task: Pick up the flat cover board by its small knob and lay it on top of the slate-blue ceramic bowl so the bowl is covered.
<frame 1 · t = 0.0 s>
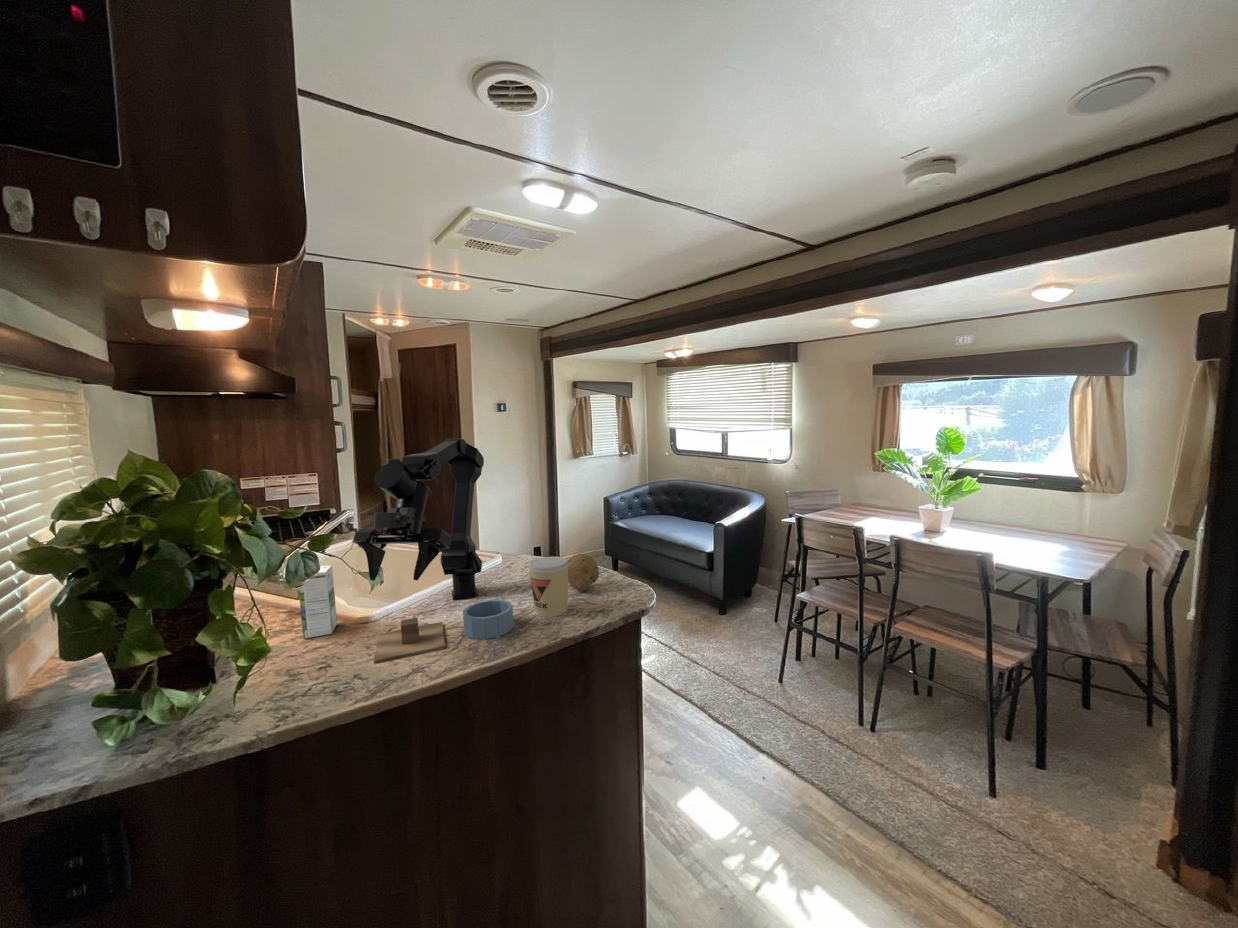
hand: (393, 580, 96), 15 cm above the counter, tool tilted 35°, fingers open, 9 cm apart
cover board: (411, 645, 101), on the counter
bowl: (489, 628, 106), on the counter
coffee cup: (551, 611, 115), on the counter
syrup box: (321, 632, 109), on the counter
natural sponge: (583, 591, 127), on the counter
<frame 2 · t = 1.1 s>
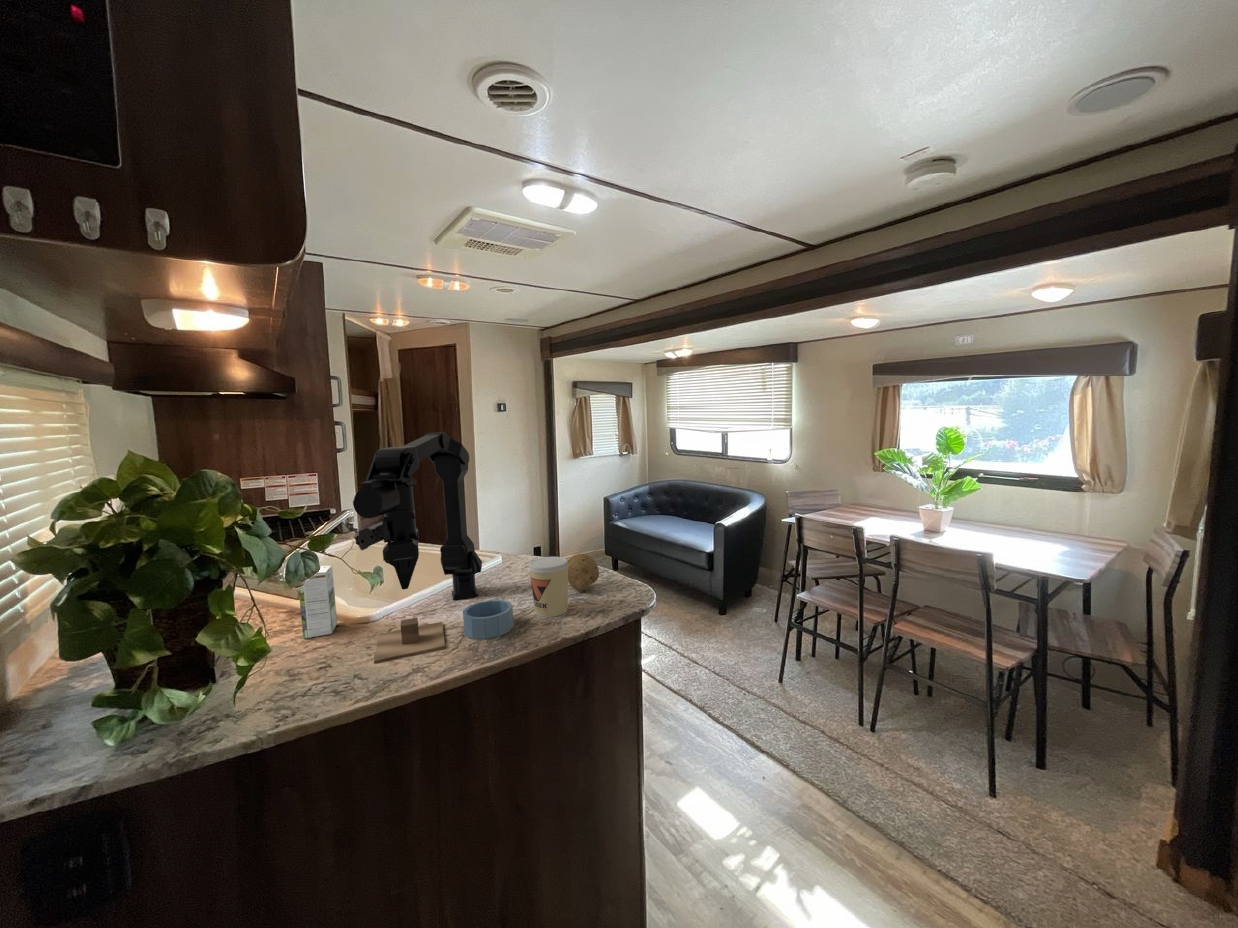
hand: (405, 582, 100), 13 cm above the counter, tool pointing down, fingers open, 9 cm apart
nothing on the counter moved.
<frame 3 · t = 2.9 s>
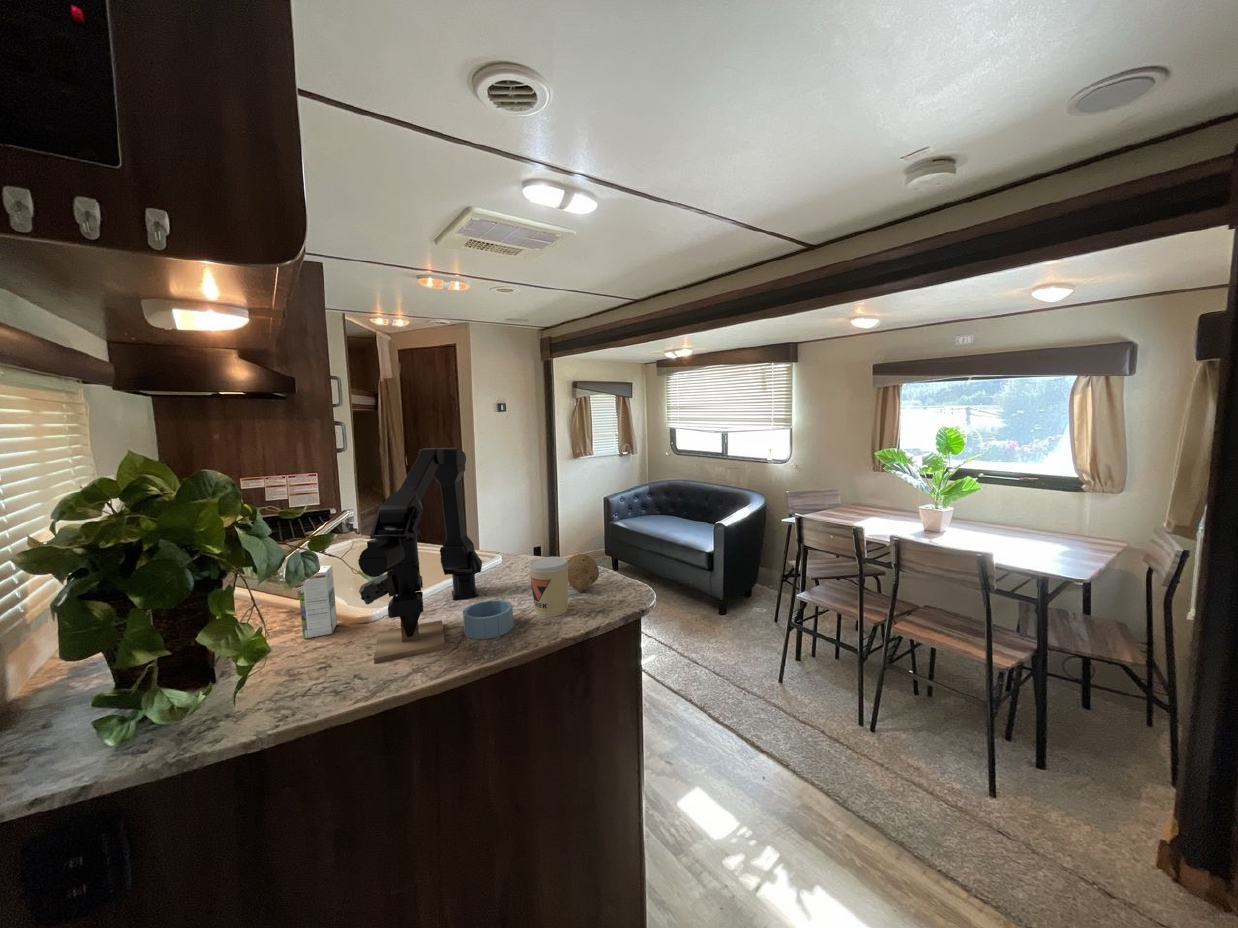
hand: (410, 633, 101), 2 cm above the counter, tool pointing down, fingers closed on cover board, 3 cm apart
cover board: (411, 642, 101), on the counter, touching gripper
everything else where it was.
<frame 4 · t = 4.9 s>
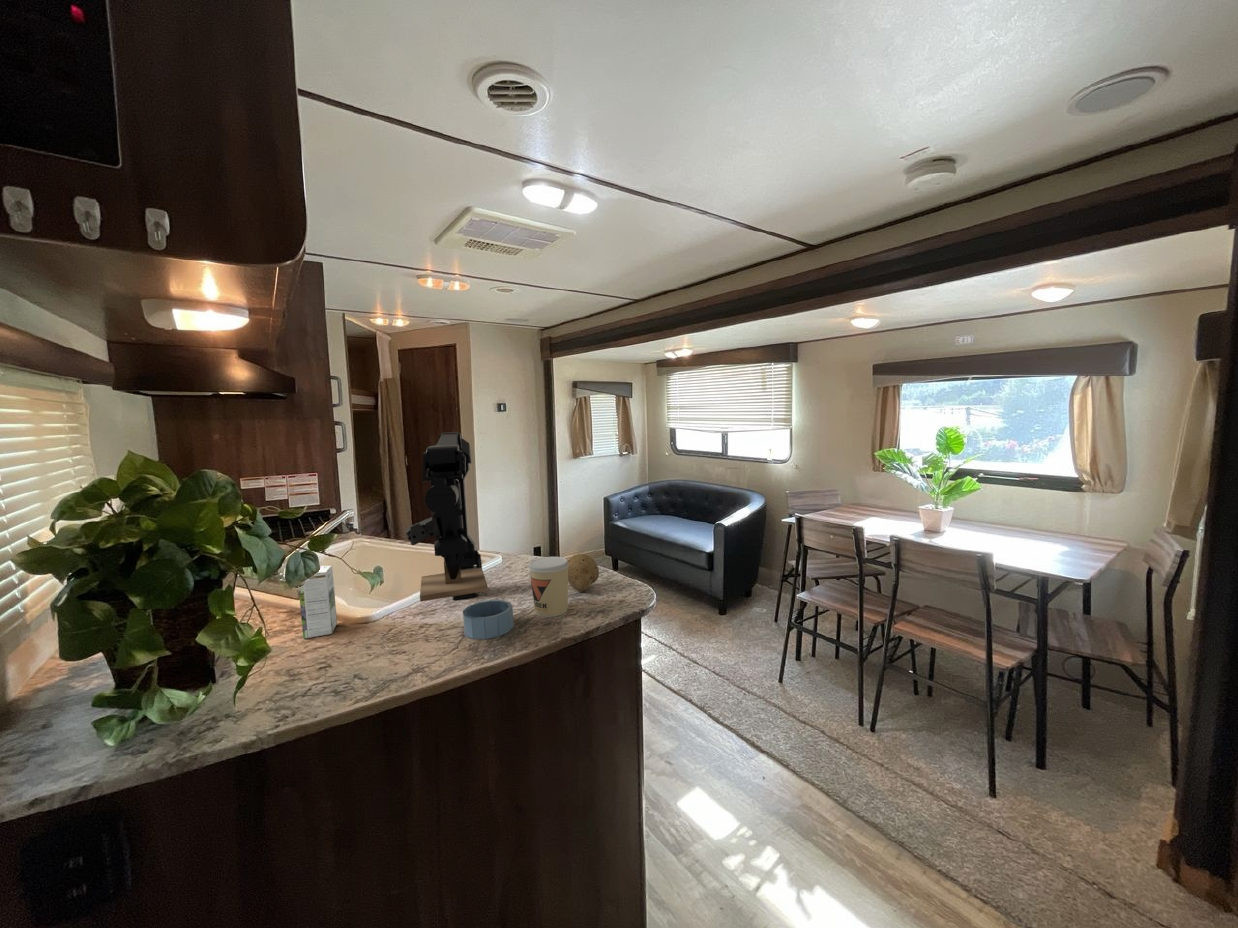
hand: (453, 576, 103), 13 cm above the counter, tool pointing down, fingers closed on cover board, 3 cm apart
cover board: (453, 585, 103), point 11 cm above the counter, touching gripper
everything else where it was.
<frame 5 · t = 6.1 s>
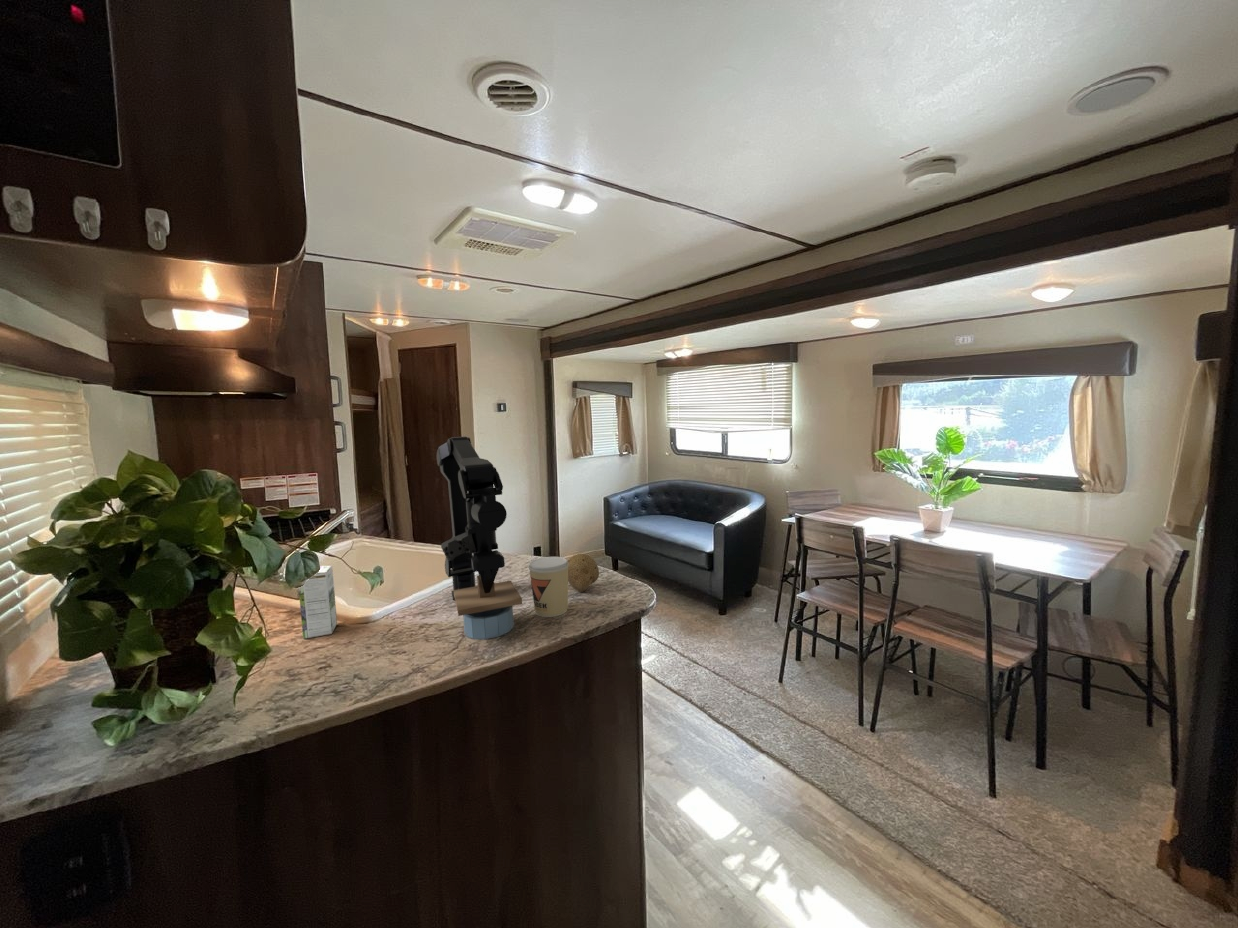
hand: (486, 590, 106), 9 cm above the counter, tool pointing down, fingers closed on cover board, 3 cm apart
cover board: (486, 599, 106), point 7 cm above the counter, touching gripper
everything else where it was.
when the fingers open (8 cm above the counter, at t = 6.9 s): cover board drops 1 cm, resting on bowl.
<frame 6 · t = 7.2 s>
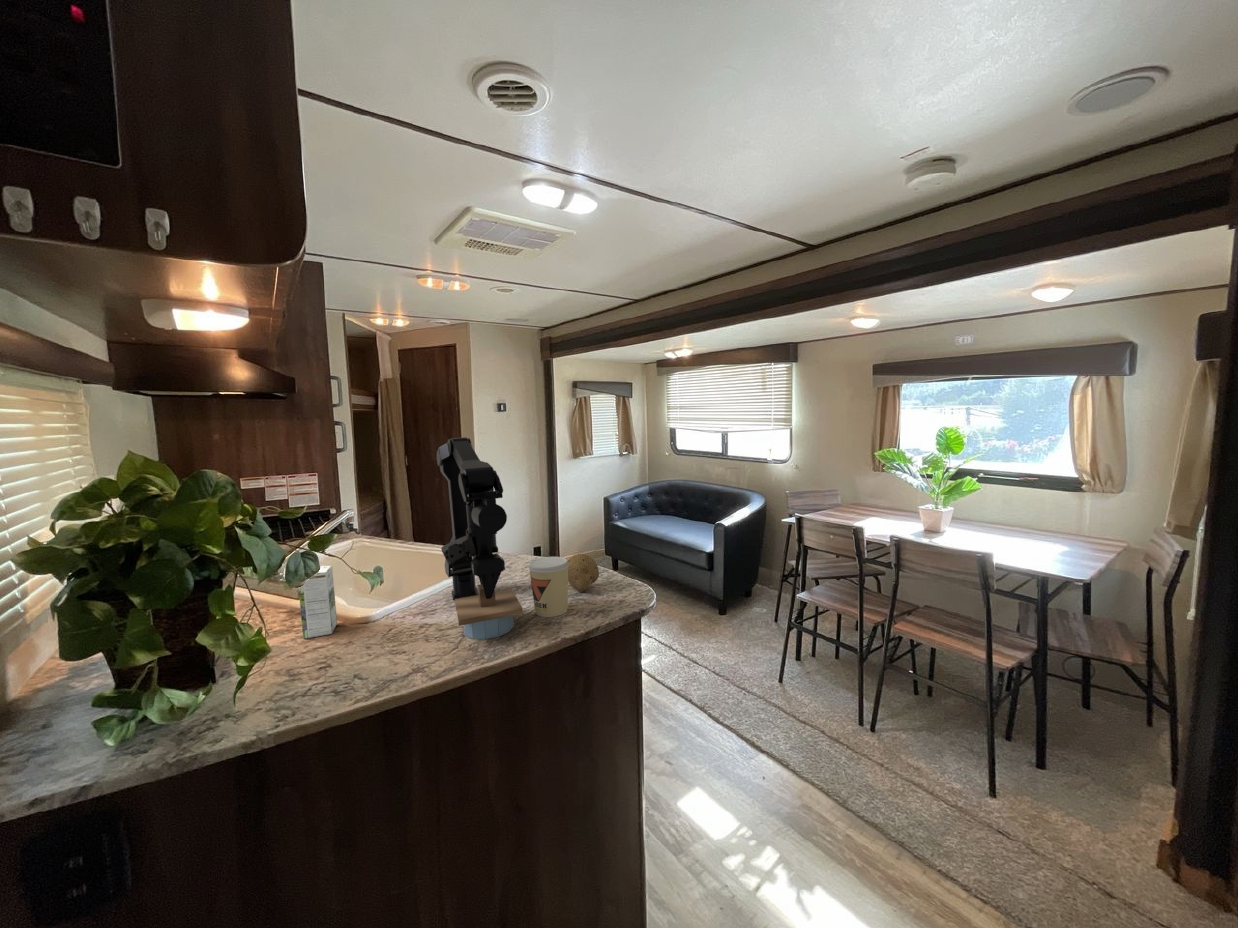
hand: (486, 593, 106), 8 cm above the counter, tool pointing down, fingers open, 7 cm apart
cover board: (487, 608, 106), point 4 cm above the counter, touching bowl
everything else where it was.
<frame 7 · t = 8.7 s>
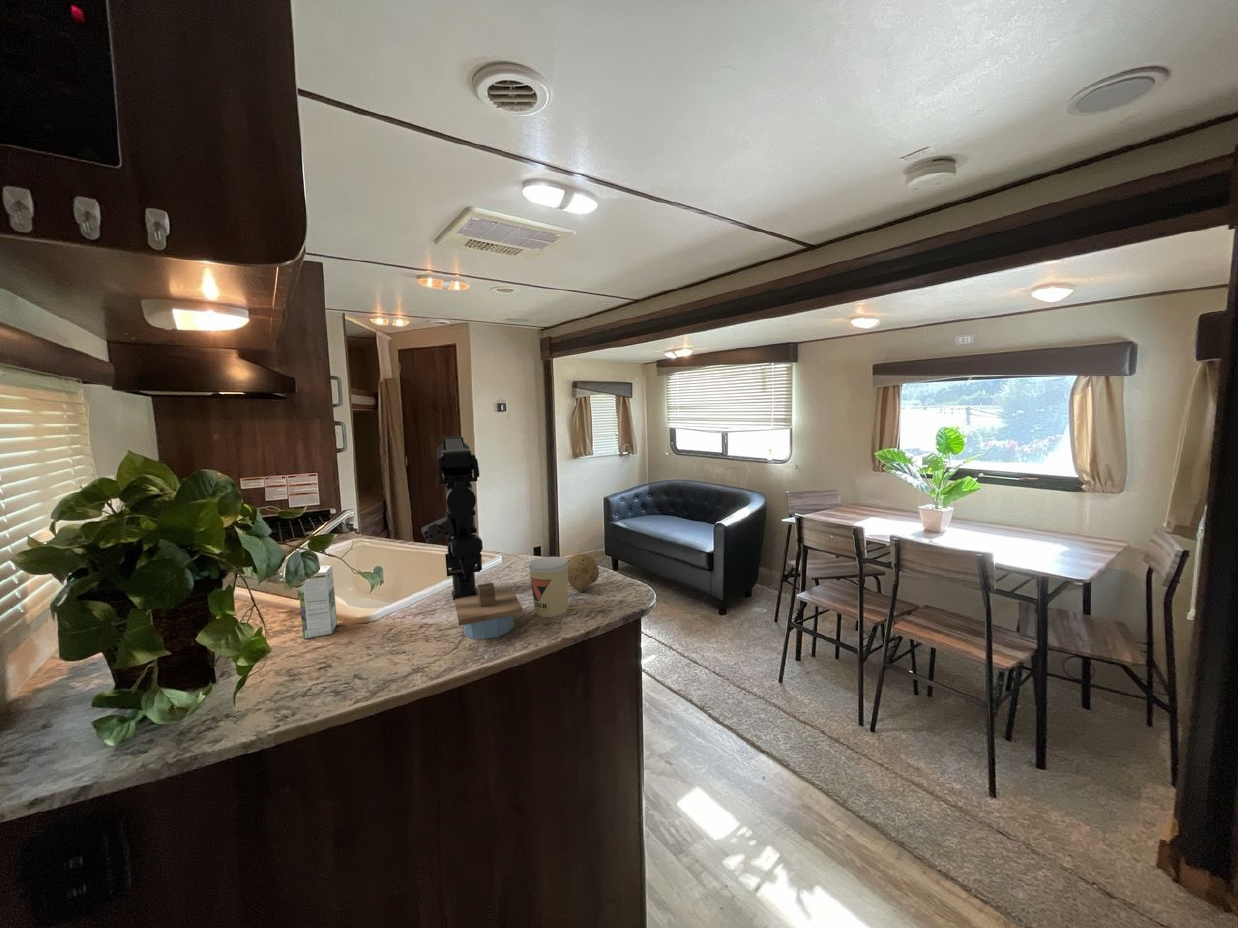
hand: (465, 572, 110), 12 cm above the counter, tool pointing down, fingers open, 9 cm apart
nothing on the counter moved.
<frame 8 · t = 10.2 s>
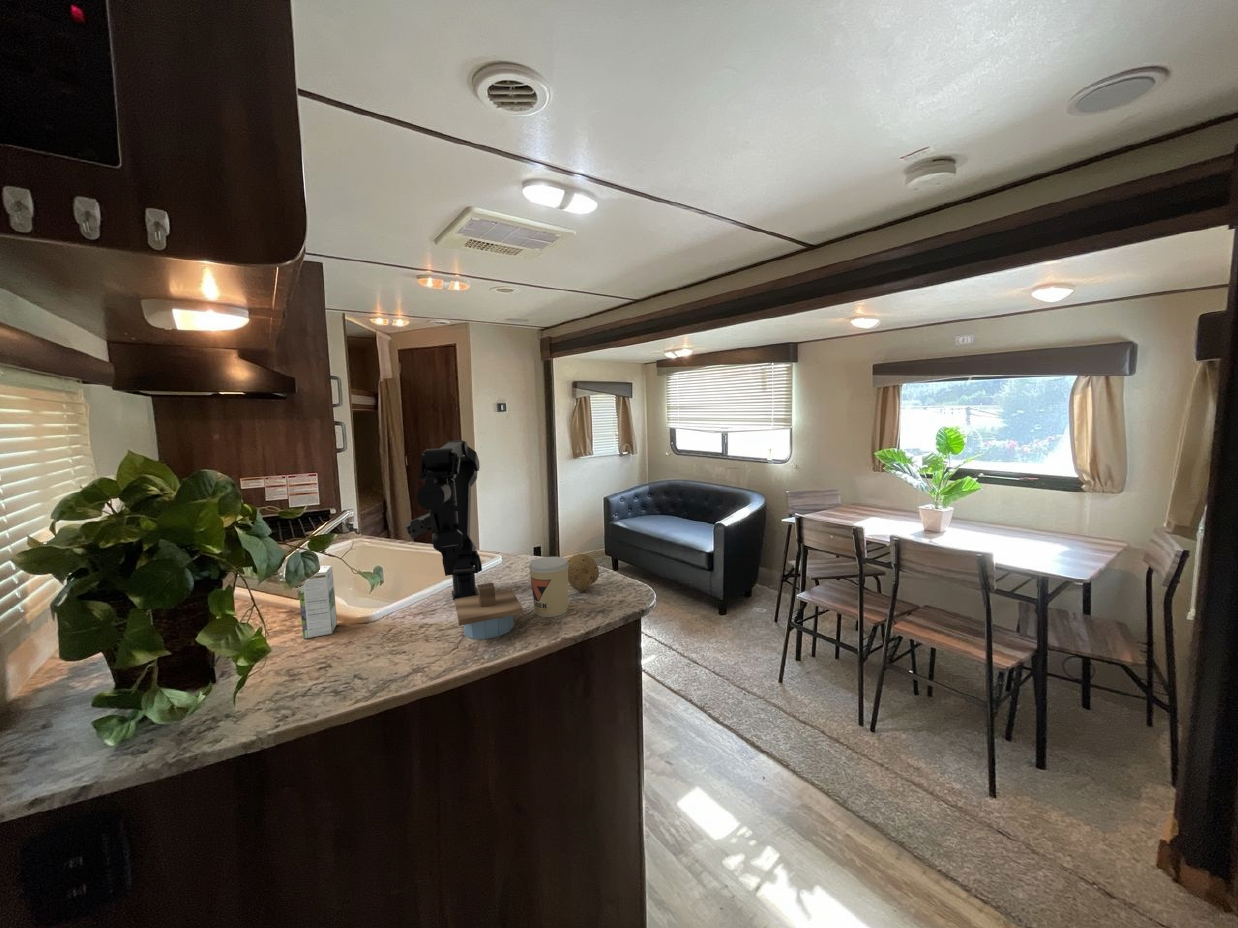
hand: (448, 567, 113), 12 cm above the counter, tool pointing down, fingers open, 9 cm apart
nothing on the counter moved.
at the end: cover board 0.1 cm off-centre on the bowl, point 4.5 cm above the bowl's base; cover board tilted 0°; the gripper is holding nothing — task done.
